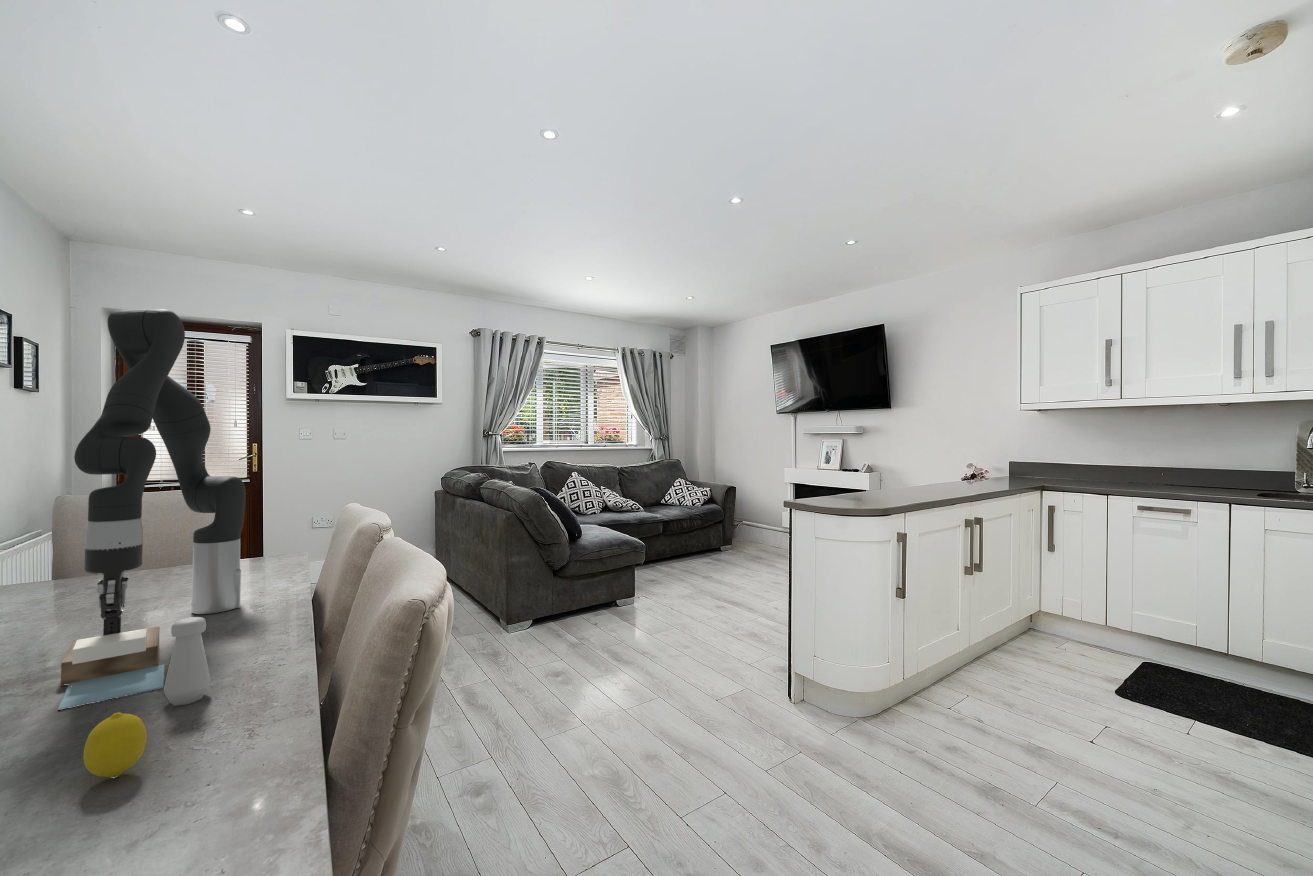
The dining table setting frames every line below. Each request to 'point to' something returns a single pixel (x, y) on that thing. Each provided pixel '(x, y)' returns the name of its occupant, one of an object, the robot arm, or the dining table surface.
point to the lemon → (115, 745)
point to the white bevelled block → (109, 646)
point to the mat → (113, 686)
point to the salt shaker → (187, 663)
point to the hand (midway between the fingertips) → (112, 637)
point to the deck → (111, 662)
